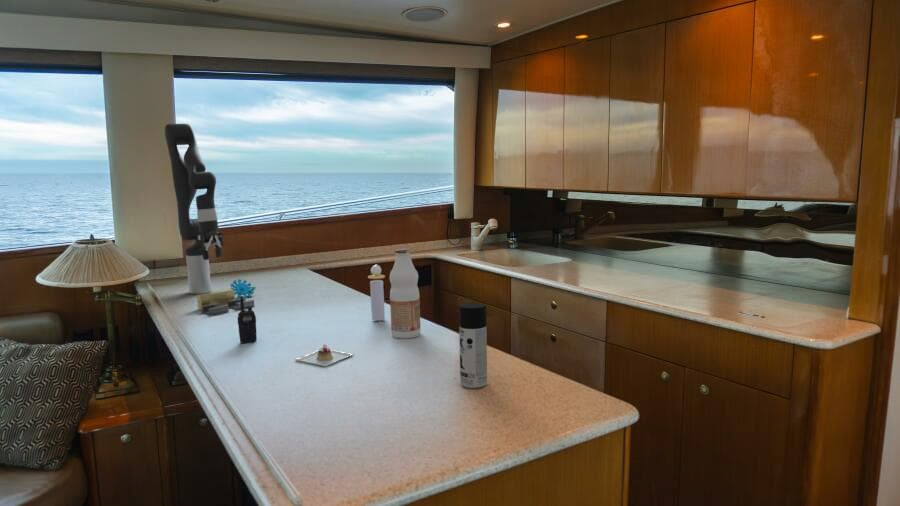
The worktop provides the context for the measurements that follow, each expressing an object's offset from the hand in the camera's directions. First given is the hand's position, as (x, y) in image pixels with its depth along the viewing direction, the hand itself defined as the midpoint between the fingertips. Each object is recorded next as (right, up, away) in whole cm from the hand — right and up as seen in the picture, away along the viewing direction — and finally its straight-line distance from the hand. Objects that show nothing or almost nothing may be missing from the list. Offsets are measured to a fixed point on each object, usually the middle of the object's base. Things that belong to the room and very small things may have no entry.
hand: (212, 258), depth 252 cm
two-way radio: (+36, -26, -62) cm, 76 cm away
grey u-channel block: (+13, -20, -17) cm, 29 cm away
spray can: (+106, -30, -104) cm, 152 cm away
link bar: (+6, -20, -11) cm, 23 cm away
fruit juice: (+86, -24, -59) cm, 107 cm away
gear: (+11, -17, +5) cm, 21 cm away
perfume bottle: (+75, -22, -40) cm, 88 cm away
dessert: (+64, -29, -81) cm, 107 cm away
